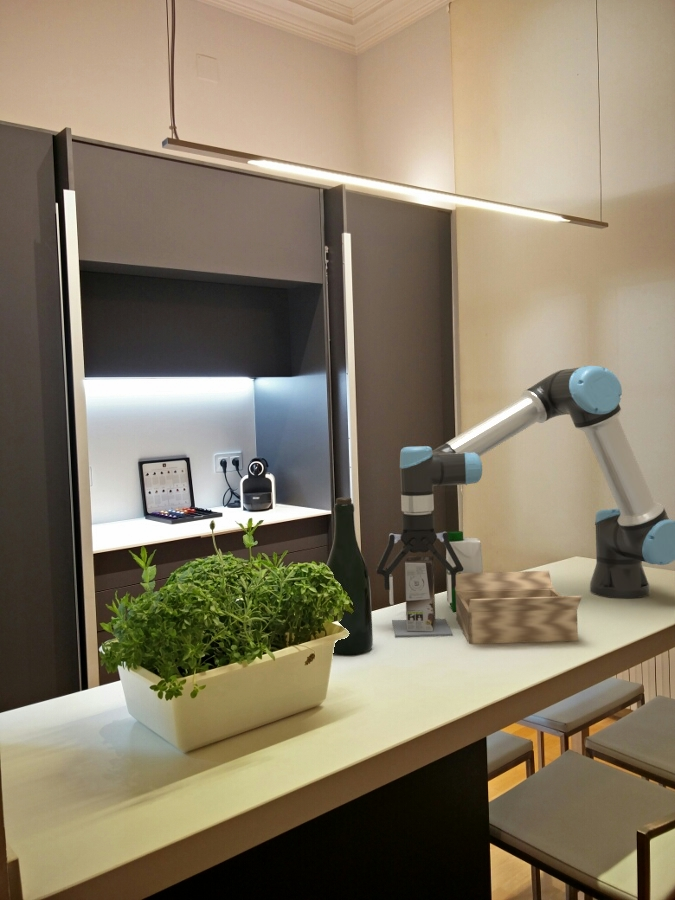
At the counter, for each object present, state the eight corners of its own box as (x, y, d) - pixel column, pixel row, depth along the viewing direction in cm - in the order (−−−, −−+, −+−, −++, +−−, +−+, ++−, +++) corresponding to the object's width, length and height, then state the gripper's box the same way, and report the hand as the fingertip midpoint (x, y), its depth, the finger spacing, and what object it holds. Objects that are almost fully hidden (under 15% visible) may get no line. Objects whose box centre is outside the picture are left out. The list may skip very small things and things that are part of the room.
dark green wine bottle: (372, 656, 158) (367, 499, 157) (322, 656, 159) (317, 500, 157) (373, 641, 168) (368, 494, 167) (326, 642, 169) (321, 495, 168)
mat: (445, 620, 184) (445, 618, 184) (452, 635, 171) (452, 633, 171) (392, 622, 184) (392, 620, 184) (395, 637, 171) (395, 635, 171)
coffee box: (434, 632, 172) (432, 562, 171) (406, 631, 173) (403, 562, 173) (436, 621, 181) (434, 554, 180) (409, 621, 182) (407, 554, 182)
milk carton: (445, 605, 198) (443, 529, 198) (480, 604, 198) (478, 528, 197) (450, 613, 190) (447, 534, 189) (486, 612, 189) (484, 533, 189)
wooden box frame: (549, 613, 187) (548, 570, 187) (582, 645, 160) (581, 595, 160) (454, 615, 187) (453, 573, 187) (471, 648, 161) (470, 599, 160)
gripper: (468, 508, 180) (471, 597, 180) (364, 512, 180) (367, 600, 181) (473, 512, 172) (476, 604, 173) (364, 516, 173) (367, 607, 173)
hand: (420, 602), depth 177 cm, fingers open, 13 cm apart
